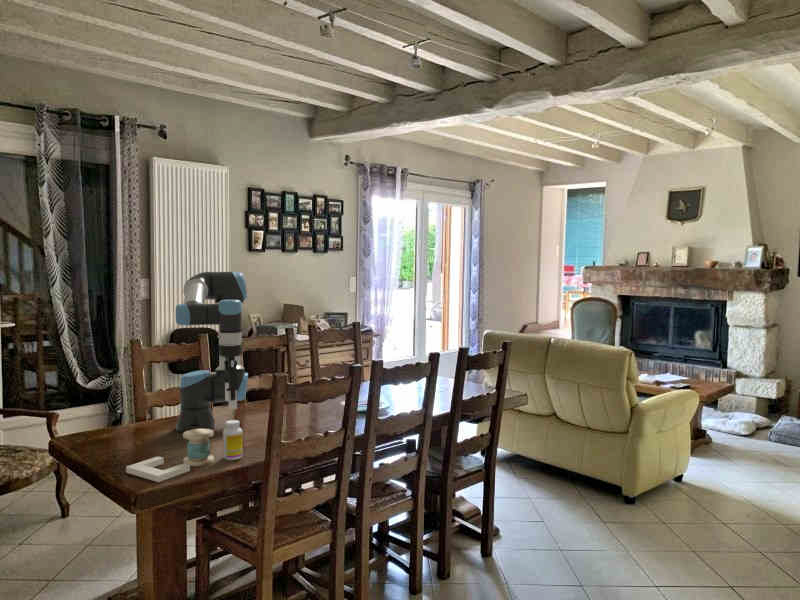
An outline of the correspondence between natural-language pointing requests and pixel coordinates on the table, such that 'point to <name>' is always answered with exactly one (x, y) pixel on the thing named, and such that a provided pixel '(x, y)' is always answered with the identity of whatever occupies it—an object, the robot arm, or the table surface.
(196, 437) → the bobbin
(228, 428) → the supplement bottle
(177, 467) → the notched board
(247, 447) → the table surface
